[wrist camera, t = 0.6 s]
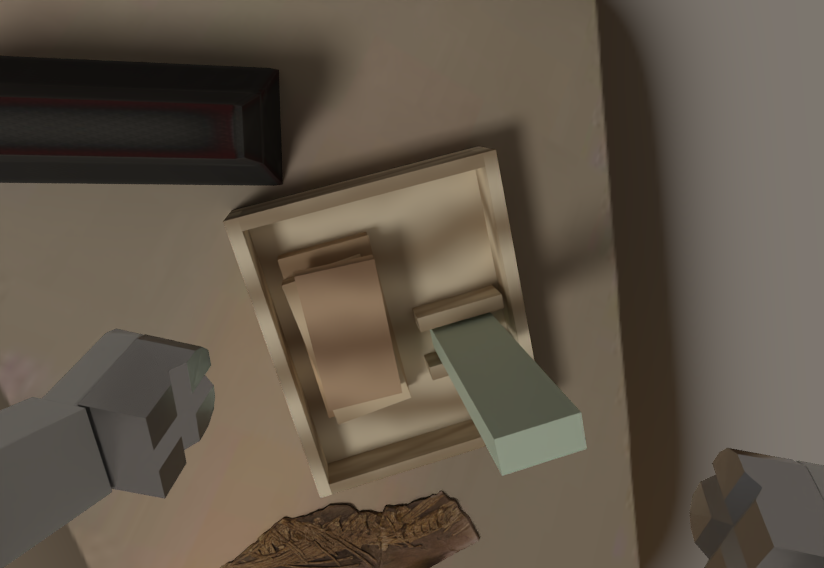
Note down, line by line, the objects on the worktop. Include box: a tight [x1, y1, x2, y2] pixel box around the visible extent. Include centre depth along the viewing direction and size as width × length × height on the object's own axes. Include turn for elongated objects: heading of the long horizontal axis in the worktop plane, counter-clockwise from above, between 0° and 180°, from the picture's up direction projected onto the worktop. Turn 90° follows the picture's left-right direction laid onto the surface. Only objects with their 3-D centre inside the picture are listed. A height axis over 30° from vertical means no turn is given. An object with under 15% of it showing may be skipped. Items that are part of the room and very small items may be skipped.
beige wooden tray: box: [223, 146, 534, 498], centre depth 46 cm, size 24×20×4 cm
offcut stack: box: [277, 232, 411, 424], centre depth 44 cm, size 14×7×4 cm, turn 14°
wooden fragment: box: [220, 491, 480, 568], centre depth 54 cm, size 26×11×1 cm, turn 90°
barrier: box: [0, 56, 283, 186], centre depth 36 cm, size 24×9×10 cm, turn 88°
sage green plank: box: [430, 312, 587, 476], centre depth 39 cm, size 2×5×18 cm, turn 104°
